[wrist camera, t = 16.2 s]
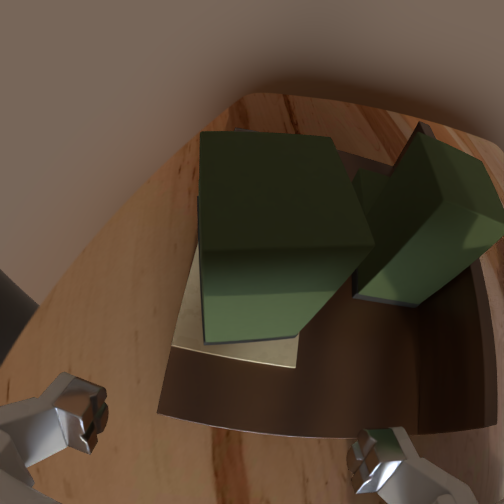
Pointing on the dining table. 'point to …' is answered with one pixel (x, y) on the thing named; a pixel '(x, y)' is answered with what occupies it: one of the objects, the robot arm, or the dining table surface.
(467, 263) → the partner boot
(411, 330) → the shoe shelf
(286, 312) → the boot
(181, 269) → the dining table surface
